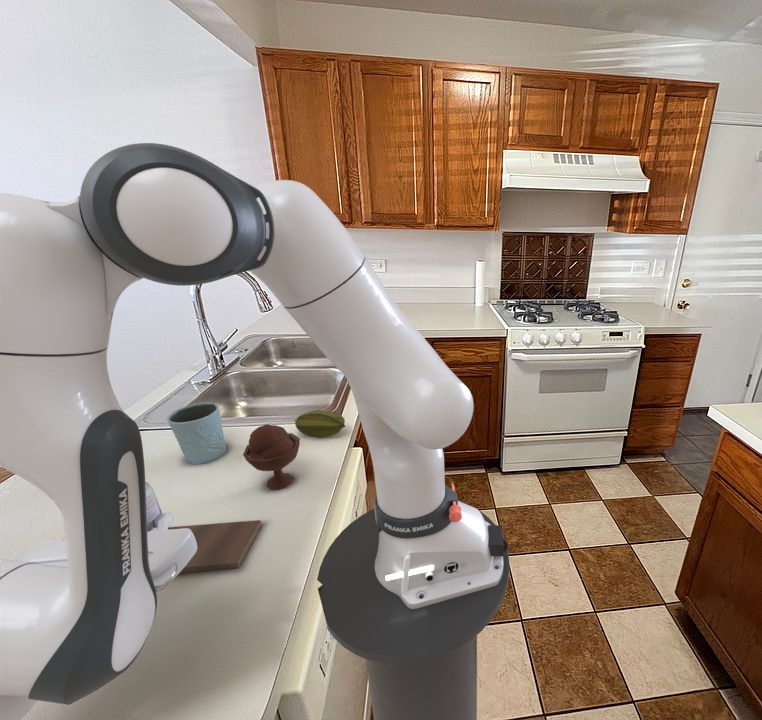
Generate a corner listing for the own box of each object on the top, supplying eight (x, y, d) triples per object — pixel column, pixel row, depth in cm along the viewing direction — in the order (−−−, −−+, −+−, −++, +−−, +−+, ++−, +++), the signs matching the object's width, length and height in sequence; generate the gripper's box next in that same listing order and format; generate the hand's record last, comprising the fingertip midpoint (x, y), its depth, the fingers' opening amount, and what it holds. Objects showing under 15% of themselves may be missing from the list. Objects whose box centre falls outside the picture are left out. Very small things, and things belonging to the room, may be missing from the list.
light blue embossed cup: (238, 449, 100) (227, 407, 96) (196, 471, 92) (182, 426, 88) (214, 439, 105) (203, 398, 100) (172, 459, 96) (157, 416, 92)
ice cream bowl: (311, 485, 88) (301, 426, 82) (255, 505, 82) (239, 443, 76) (301, 461, 96) (291, 406, 90) (249, 478, 90) (234, 420, 84)
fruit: (337, 419, 115) (334, 399, 113) (348, 438, 106) (345, 416, 103) (295, 430, 109) (291, 408, 107) (302, 451, 100) (298, 428, 98)
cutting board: (261, 524, 77) (260, 519, 76) (238, 568, 67) (237, 562, 67) (150, 533, 74) (148, 528, 74) (110, 579, 65) (108, 574, 65)
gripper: (151, 576, 45) (213, 494, 58) (-53, 595, 43) (58, 506, 56) (167, 614, 47) (223, 528, 60) (-26, 635, 45) (75, 541, 58)
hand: (142, 518), depth 58 cm, fingers closed on energy drink, 5 cm apart
